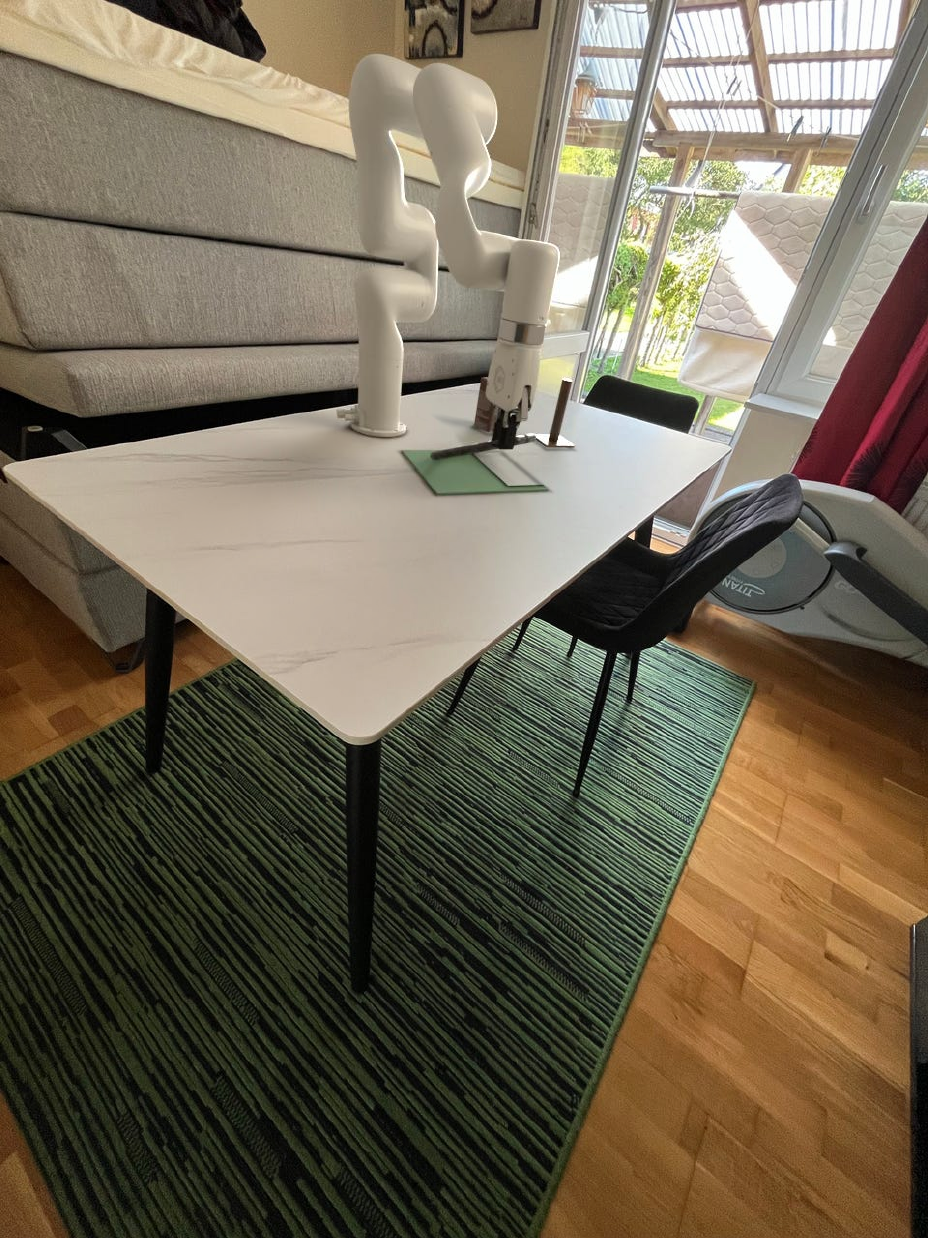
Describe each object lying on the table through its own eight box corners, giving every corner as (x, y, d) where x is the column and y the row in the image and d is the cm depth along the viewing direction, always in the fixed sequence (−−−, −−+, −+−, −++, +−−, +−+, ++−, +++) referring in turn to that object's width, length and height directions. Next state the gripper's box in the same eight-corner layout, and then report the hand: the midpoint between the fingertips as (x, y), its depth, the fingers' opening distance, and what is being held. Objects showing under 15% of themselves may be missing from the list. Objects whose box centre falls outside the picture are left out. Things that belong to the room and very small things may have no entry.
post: (546, 450, 125) (562, 383, 116) (530, 438, 131) (544, 374, 122) (573, 450, 128) (590, 385, 119) (557, 439, 134) (572, 376, 125)
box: (500, 433, 131) (509, 383, 124) (487, 435, 128) (496, 383, 121) (485, 426, 134) (493, 376, 127) (472, 427, 132) (479, 376, 125)
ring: (451, 457, 91) (449, 448, 90) (419, 462, 110) (418, 454, 110) (556, 437, 97) (554, 428, 96) (508, 445, 116) (507, 438, 116)
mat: (437, 495, 95) (437, 493, 94) (401, 451, 110) (401, 450, 110) (548, 490, 104) (548, 489, 104) (500, 451, 120) (501, 449, 119)
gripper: (481, 324, 88) (467, 432, 99) (523, 341, 77) (502, 462, 88) (519, 327, 91) (501, 433, 102) (566, 345, 80) (540, 461, 91)
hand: (502, 445), depth 95 cm, fingers closed on ring, 1 cm apart
